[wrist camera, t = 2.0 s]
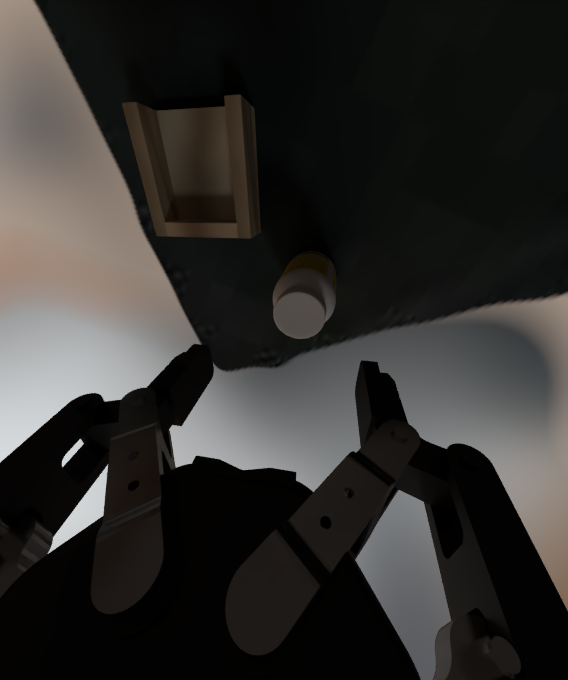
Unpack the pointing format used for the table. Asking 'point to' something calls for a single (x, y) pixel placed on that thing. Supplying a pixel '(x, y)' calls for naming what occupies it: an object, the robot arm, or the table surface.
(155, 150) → the u holder
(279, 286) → the supplement bottle
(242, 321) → the table surface
